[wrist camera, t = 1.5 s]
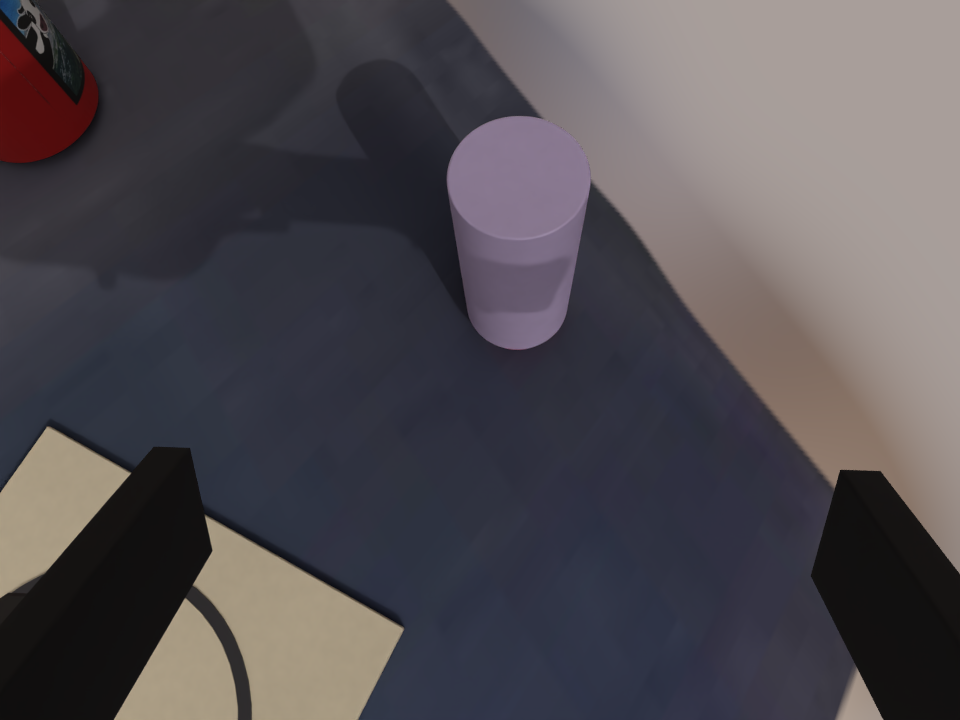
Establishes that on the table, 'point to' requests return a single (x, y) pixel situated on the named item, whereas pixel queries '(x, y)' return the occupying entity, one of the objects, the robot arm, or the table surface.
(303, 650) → the beige square board
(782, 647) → the table surface
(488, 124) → the cylinder
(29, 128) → the beverage can
